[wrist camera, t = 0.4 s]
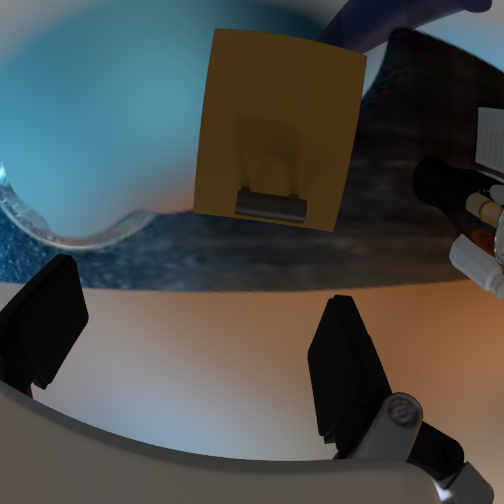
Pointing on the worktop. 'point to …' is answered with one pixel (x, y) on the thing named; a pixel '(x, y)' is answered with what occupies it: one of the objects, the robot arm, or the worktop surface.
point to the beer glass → (465, 201)
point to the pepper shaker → (477, 265)
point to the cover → (277, 128)
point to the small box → (490, 138)
